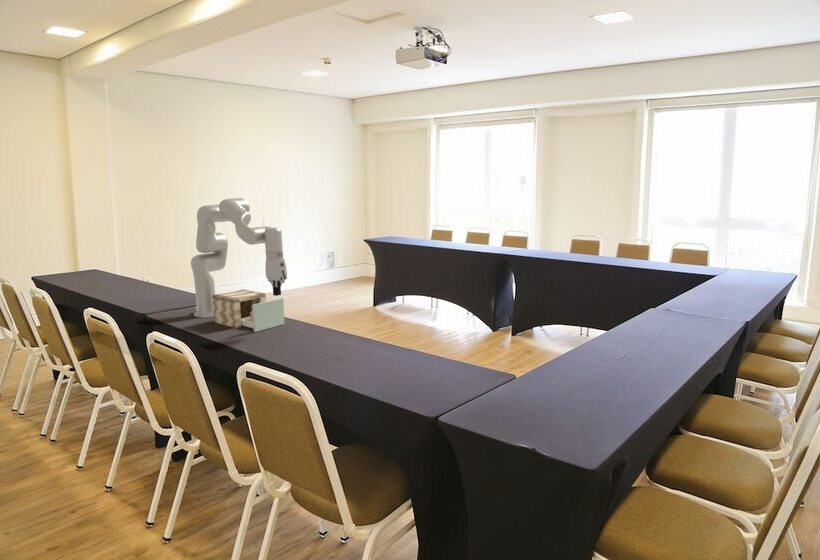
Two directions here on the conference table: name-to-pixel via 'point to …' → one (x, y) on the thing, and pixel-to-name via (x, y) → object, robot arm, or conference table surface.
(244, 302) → the beige brown striped box
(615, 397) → the conference table surface
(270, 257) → the robot arm
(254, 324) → the mint green drawer
